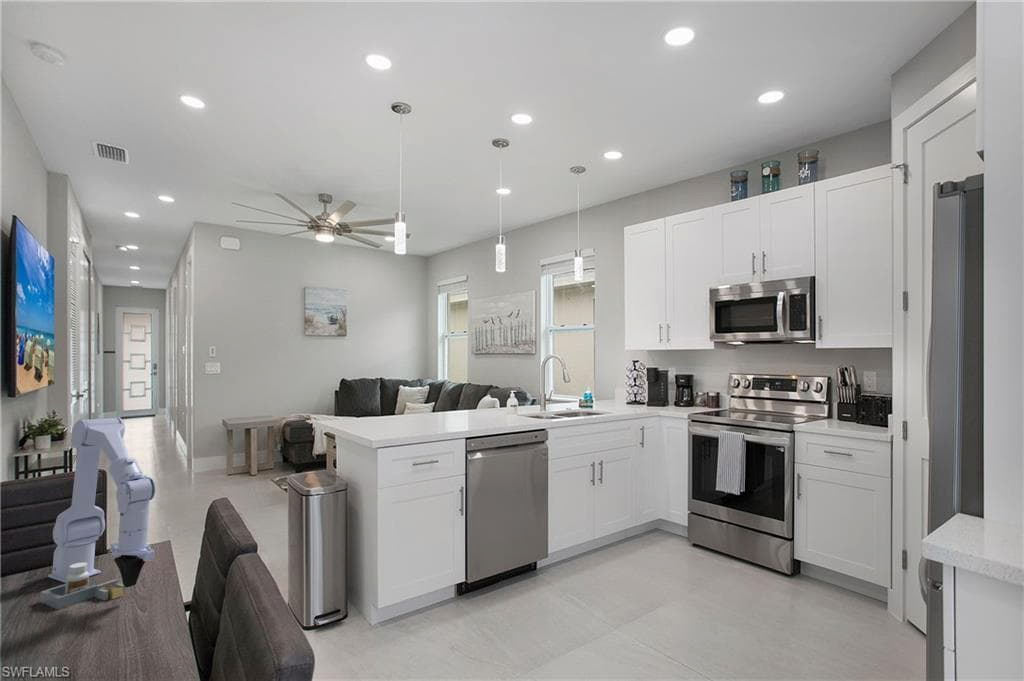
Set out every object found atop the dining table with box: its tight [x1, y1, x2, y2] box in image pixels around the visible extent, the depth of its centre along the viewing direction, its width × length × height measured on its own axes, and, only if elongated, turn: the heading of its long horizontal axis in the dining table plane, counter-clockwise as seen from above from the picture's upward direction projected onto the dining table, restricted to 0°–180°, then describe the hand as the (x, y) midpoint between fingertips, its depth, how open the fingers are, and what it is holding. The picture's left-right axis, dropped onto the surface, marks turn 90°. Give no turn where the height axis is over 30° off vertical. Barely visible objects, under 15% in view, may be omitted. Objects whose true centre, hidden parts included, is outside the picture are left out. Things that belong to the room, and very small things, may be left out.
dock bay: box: [39, 578, 126, 610], centre depth 125 cm, size 12×12×3 cm
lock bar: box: [102, 585, 124, 600], centre depth 127 cm, size 6×2×2 cm, turn 66°
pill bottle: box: [65, 562, 90, 595], centre depth 126 cm, size 4×4×8 cm
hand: (129, 585), depth 124 cm, fingers closed
